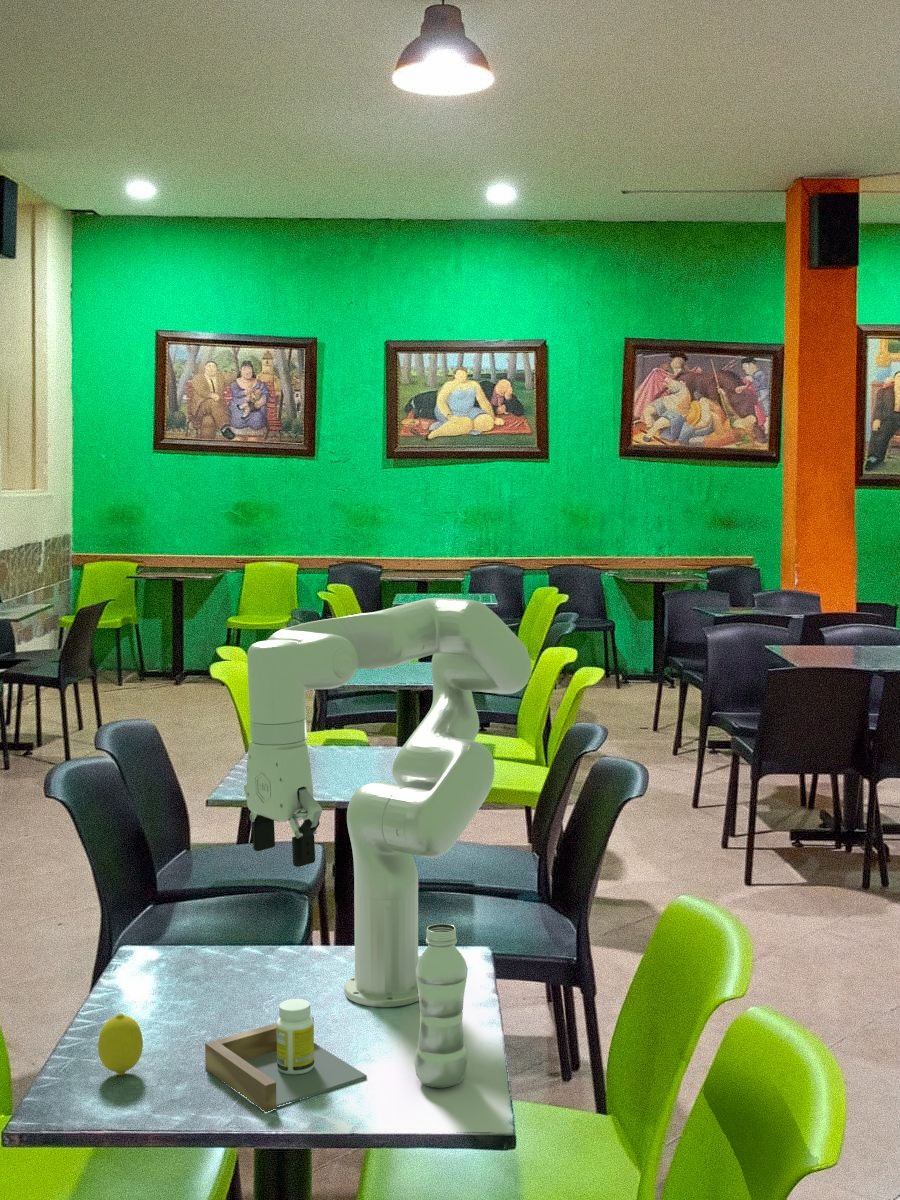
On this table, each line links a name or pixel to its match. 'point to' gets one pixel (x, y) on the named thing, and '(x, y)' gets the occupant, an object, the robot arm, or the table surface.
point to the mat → (307, 1075)
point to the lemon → (120, 1044)
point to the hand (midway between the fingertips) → (283, 856)
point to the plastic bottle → (441, 1009)
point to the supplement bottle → (295, 1037)
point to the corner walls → (245, 1064)
